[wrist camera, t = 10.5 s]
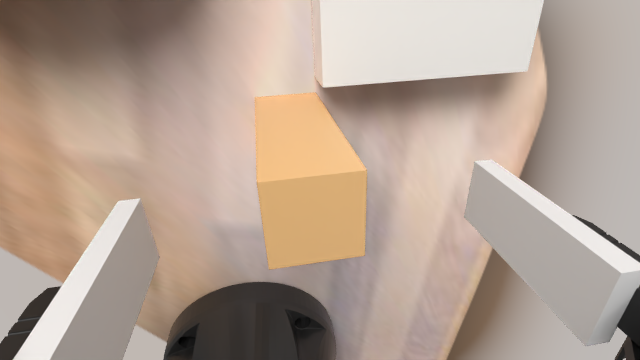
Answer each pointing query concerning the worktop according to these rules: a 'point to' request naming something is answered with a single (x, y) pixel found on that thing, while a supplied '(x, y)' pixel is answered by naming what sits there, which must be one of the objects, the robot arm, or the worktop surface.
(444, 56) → the socket board
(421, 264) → the worktop surface
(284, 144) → the plug
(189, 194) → the worktop surface
